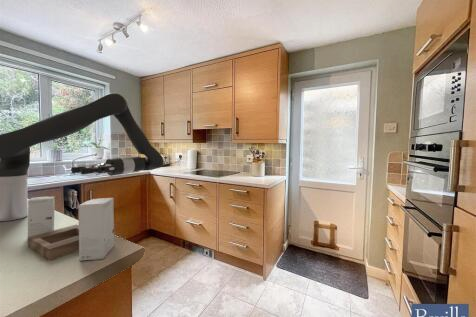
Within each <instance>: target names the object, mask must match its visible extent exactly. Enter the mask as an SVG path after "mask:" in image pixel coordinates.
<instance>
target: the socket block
mask: <svg viewBox="0 0 476 317" xmlns="http://www.w3.org/2000/svg"><path fill="white" fill-rule="evenodd" d="M27 249H30V250H32V251H33V252H35V253H36V254H38V255H40V256H41V257H43V258H45V259H46V260H48V261H52V260H56V259H58V258H62V257H64V256H65V255H69V254H72V253H74V252H79V224H74V225H73V224H72V225H69V226H65V227H62V228H58V229H54V230H53V231H49V232H45V233H42V234H38V235H34V236H30V237H27Z"/></svg>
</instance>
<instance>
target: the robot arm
mask: <svg viewBox="0 0 476 317" xmlns="http://www.w3.org/2000/svg"><path fill="white" fill-rule="evenodd" d="M111 116H113V117H115V119H116V120H117V121H118V122H119V124H121V126H122V127H123V130H124V131H125V134H126V136H127V137H128V139H129V141H130V143H131V144H132V145H133V147H134V148H135V150H136V151H137V153H138V154H139V155H143V156H144V157H141V156H129V157H128V156H122V157H111V158H109V157H108V158H107V159H106V160H105V162H98V163H91V164H87V165H85V164H83V165H82V166H74V167H73V166H72V167H71V174H76V173H78V174H79V173H80V174H81V175H88V174H89V175H90V174H94V175H95V174H107V175H108V176H111V177H114V176H118V175H127V174H131V173H137V172H141V171H142V172H143V171H144V172H145V171H152V170H153V171H154V170H157V169H160V168H162V167H163V166H164V158H163V156H162V154H161V153H160V152H159V151H158V150H157V149H156V148H155V147H154V146H153V145H152V144H151V142H150V141H149V139H148V138H147V136H146V135H145V133H144V132H143V130H142V129H141V128H140V126H139V125H138V123H137V122H136V120H135V119H134V118H135V117H133V115H132V113H131V110H130V108H129V106H128V101H127V100H126V98H125V97H124V96H123V95H122V94H120V93H116V92H109V93H107V94H105V95H103V96H101V97H99V98H97V99H96V100H93V101H91V102H89V103H86V104H84V105H79V106H76V107H73V108H71V109H67V110H64V111H62V112H59V113H56V114H53V115H51V116H49V117H46V118H43V119H42V120H38V121H36V122H34V123H32V124H30V125H28V126H25V127H22V128H19V129H16V130H12V131H7V132H4V133H0V222H9V221H14V220H16V221H17V220H19V219H22V218H23V219H24V218H26V217H28V170H29V167H30V164H31V163H30V160H31V158H30V157H31V147H33V146H35V145H38V144H42V143H46V142H51V141H55V140H58V139H62V138H65V137H68V136H71V135H73V134H76V133H78V132H80V131H81V130H84V129H86V128H87V127H89V126H91V125H92V124H93V123H95V122H97V121H98V120H101V119H104V118H107V117H111Z"/></svg>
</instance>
